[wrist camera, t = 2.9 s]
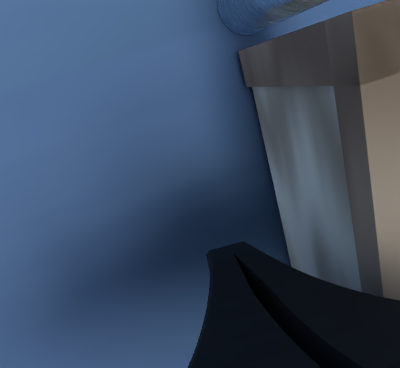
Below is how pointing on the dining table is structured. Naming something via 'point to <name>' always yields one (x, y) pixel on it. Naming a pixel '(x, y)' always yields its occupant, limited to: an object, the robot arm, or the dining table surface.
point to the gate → (335, 144)
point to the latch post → (260, 13)
